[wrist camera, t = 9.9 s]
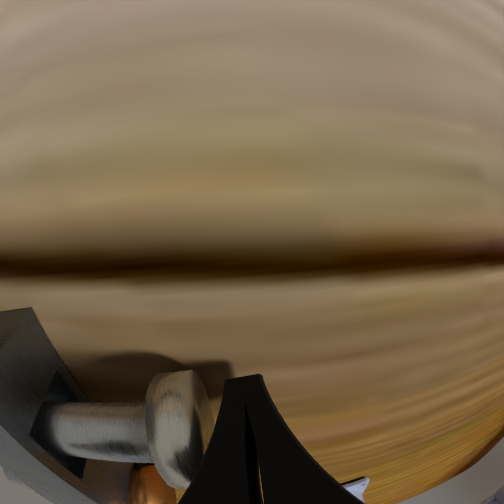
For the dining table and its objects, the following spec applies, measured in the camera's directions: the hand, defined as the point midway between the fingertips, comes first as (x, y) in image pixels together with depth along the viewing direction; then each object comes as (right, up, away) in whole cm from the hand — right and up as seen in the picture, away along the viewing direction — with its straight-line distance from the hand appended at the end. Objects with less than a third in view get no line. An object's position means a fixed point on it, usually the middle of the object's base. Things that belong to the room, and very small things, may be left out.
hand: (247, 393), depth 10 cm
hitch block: (-9, -5, +2) cm, 11 cm away
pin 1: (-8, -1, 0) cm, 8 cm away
